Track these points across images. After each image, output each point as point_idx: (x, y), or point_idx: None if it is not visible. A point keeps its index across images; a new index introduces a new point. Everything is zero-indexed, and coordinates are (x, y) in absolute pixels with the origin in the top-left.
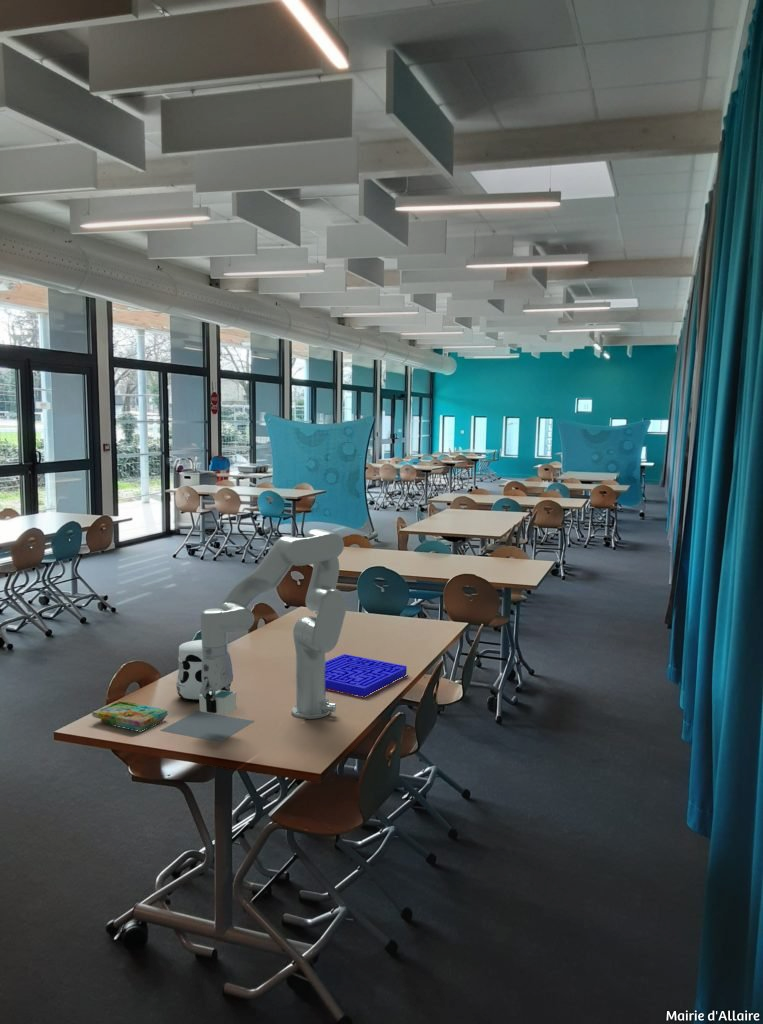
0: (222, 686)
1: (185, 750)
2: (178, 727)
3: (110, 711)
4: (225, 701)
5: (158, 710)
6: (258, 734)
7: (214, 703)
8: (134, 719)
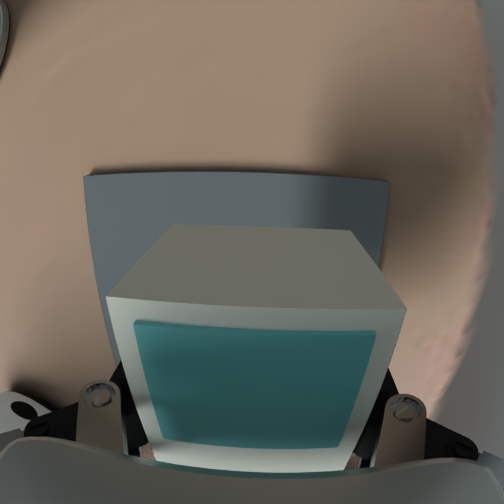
0: (324, 498)
1: (467, 288)
2: None
3: None
4: (367, 285)
5: None
6: (200, 65)
7: None
8: None
